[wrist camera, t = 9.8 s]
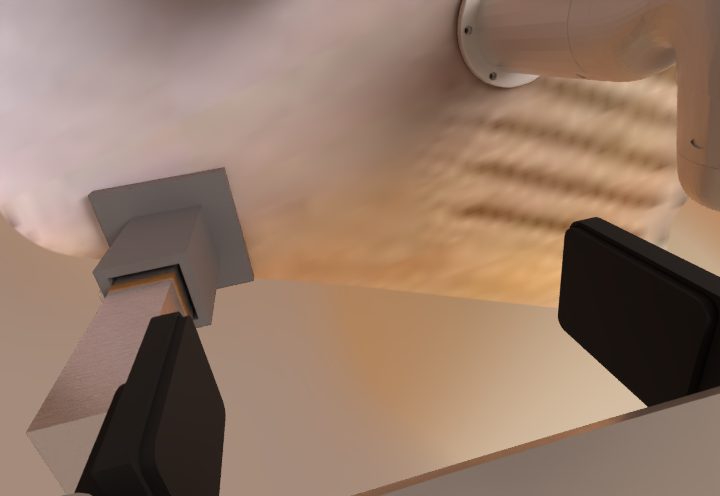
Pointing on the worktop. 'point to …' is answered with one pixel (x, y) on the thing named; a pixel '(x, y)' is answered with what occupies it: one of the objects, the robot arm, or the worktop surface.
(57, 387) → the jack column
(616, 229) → the robot arm
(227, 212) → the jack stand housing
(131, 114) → the worktop surface
